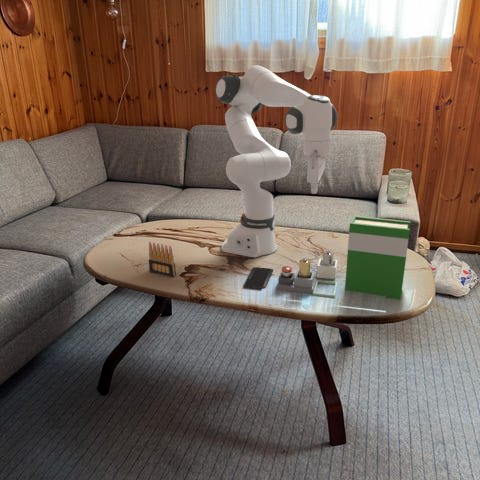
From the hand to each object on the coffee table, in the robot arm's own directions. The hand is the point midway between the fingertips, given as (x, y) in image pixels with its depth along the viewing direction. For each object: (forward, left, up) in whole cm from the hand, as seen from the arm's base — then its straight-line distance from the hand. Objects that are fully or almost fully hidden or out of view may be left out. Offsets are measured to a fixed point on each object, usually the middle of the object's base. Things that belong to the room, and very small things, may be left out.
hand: (316, 189), depth 154 cm
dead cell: (+5, -2, -30) cm, 31 cm away
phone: (-18, -10, -31) cm, 37 cm away
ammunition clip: (-53, -14, -31) cm, 63 cm away
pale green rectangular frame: (+6, -13, -31) cm, 34 cm away
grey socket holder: (-4, -13, -31) cm, 34 cm away
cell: (-1, -13, -29) cm, 32 cm away
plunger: (-7, -13, -27) cm, 31 cm away
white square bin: (+5, -2, -31) cm, 31 cm away
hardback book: (+21, -9, -31) cm, 39 cm away
